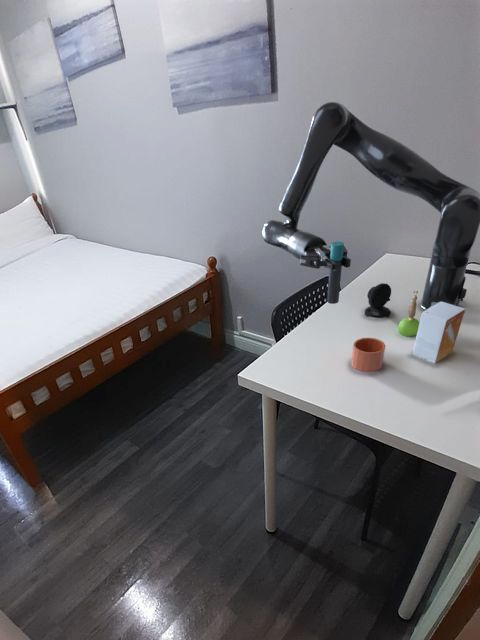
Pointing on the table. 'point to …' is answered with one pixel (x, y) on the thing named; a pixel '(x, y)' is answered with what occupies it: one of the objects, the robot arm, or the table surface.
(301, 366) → the table surface
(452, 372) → the table surface
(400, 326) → the snail figurine
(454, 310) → the small box
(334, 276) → the marker pen
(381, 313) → the webcam
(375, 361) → the pen cup
